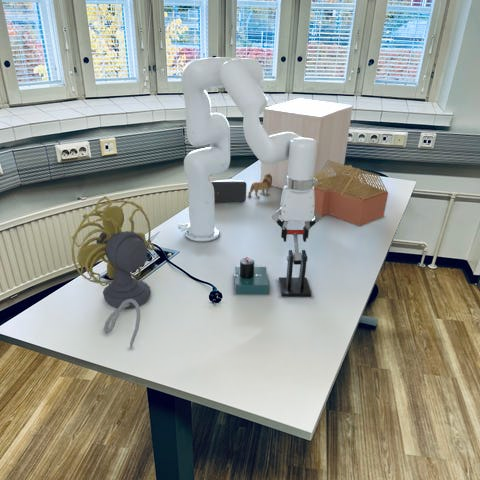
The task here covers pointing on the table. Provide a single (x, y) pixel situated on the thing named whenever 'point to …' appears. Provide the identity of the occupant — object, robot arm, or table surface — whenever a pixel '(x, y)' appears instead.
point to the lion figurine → (261, 185)
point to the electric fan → (116, 259)
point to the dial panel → (252, 282)
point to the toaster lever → (296, 245)
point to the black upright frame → (295, 279)
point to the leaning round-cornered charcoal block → (229, 191)
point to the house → (349, 194)
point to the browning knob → (246, 268)
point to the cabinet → (309, 133)
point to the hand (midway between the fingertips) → (294, 239)
